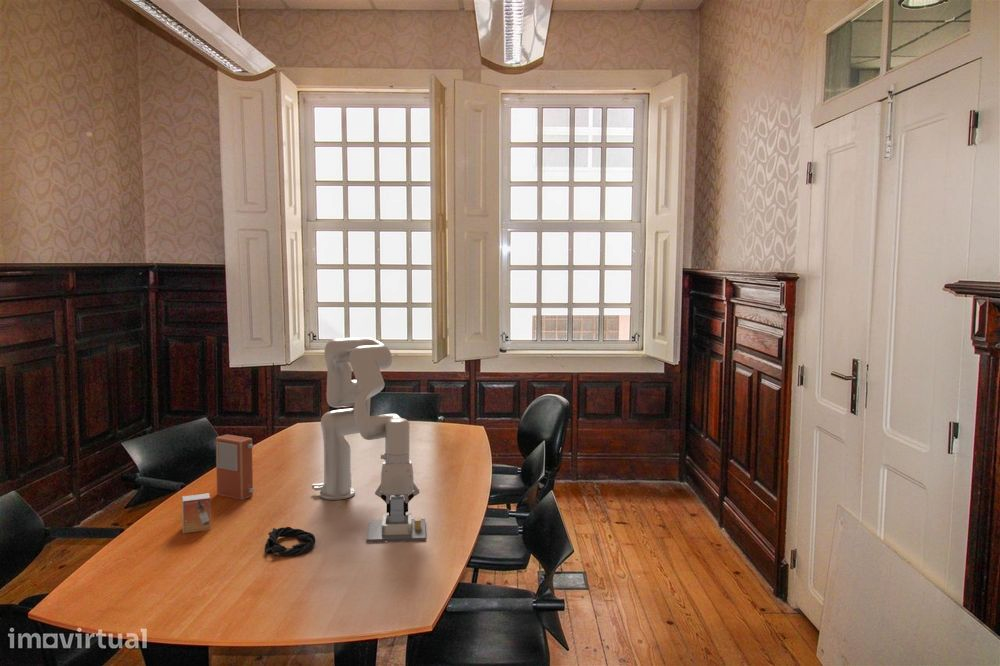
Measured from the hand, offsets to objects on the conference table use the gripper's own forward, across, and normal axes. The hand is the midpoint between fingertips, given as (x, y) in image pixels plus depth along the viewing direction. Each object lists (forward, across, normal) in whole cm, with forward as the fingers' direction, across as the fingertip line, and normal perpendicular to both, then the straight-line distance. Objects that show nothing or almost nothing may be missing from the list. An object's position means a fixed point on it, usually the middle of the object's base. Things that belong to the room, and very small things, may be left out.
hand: (397, 513), depth 209 cm
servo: (+1, 0, 0) cm, 1 cm away
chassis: (+6, 0, 0) cm, 6 cm away
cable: (+6, -31, -8) cm, 33 cm away
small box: (+6, -63, +7) cm, 64 cm away
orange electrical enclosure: (+6, -60, +39) cm, 72 cm away
